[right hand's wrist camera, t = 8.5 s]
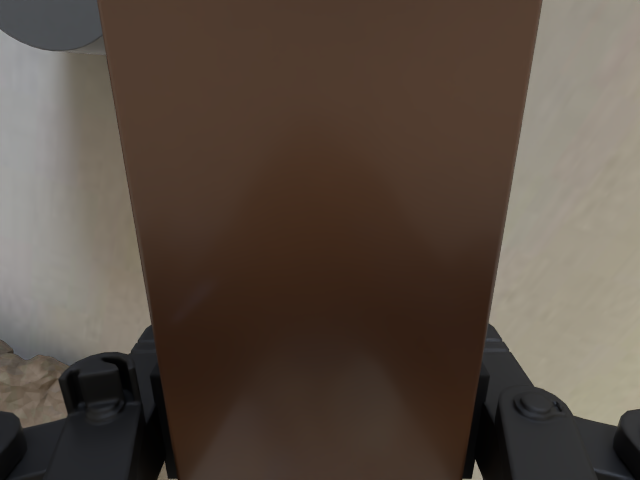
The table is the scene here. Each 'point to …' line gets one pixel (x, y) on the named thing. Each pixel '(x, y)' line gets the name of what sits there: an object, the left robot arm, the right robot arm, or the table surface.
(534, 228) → the table surface
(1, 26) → the grey cylinder white top
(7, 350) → the stone
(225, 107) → the walnut block
